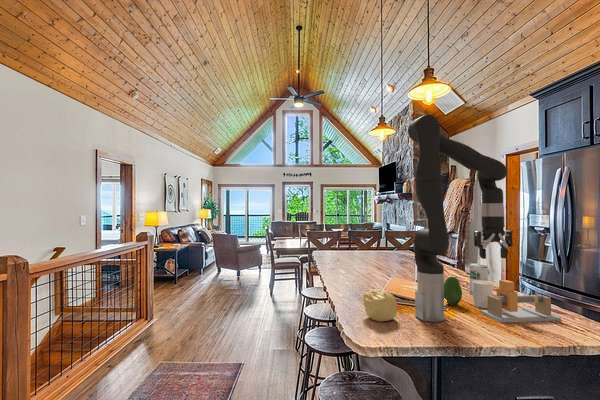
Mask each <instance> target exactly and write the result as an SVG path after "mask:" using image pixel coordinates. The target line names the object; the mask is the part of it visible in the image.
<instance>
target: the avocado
mask: <svg viewBox="0 0 600 400" xmlns="http://www.w3.org/2000/svg"><path fill="white" fill-rule="evenodd" d="M444 281H445V282H444V298H445V299H446V300H447V302H446V304H448V305H450V306H451V305H452V306H456V305H458V304H459V303H460V302H461V300H462V297H463V289H462V287H461V284H460V281H459V279H458V277H456V276H449V277H448V278H446V280H444Z"/></svg>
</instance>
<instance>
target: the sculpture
mask: <svg viewBox="0 0 600 400" xmlns="http://www.w3.org/2000/svg"><path fill="white" fill-rule="evenodd" d="M362 296H363V297H362V299H363V307H364V308H365V314H366V315H367V317H368V318H370V319H371V320H372V321H374V322H381V323H382V322H387V321H391V320H394V319H395V317H396V316H397V314H398V303H397V300H396V298H395V297H394V295H393V294H392V293H390V292H388V291H386V290H382V289H379V288H377V289H372V290H368V291H367V292H366V293H364V294H363V295H362Z"/></svg>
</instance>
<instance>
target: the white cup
mask: <svg viewBox="0 0 600 400" xmlns="http://www.w3.org/2000/svg"><path fill="white" fill-rule="evenodd" d="M472 292H473V294H472V301H473V303H472V304H473V306H475V307H478V308H482V309H488V296H490V295H493V294H494V282H492V281H489V280H488V281H483V280H473V281H472ZM493 296H494V295H493Z"/></svg>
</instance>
